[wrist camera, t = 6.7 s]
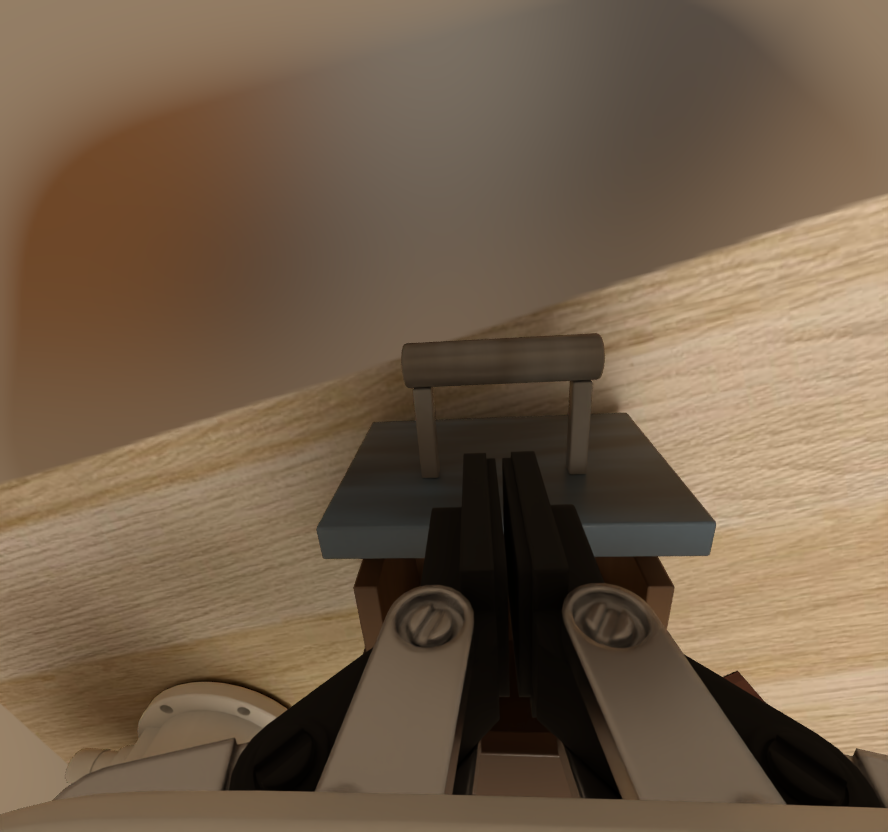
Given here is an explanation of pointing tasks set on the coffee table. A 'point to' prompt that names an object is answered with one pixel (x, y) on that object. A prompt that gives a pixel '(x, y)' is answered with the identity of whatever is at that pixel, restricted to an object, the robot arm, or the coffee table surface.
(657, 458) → the drawer
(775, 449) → the coffee table surface
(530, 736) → the cabinet
